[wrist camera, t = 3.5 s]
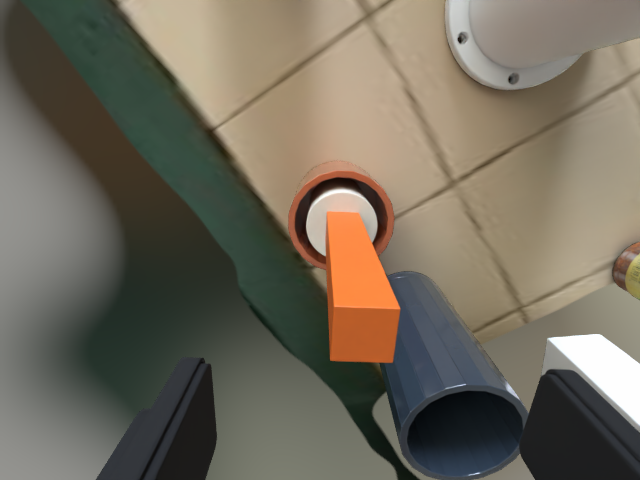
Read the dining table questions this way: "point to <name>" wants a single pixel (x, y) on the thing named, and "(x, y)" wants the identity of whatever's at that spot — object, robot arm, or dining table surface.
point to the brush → (353, 274)
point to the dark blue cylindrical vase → (447, 389)
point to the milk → (599, 370)
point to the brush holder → (368, 187)
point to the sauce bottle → (628, 270)
